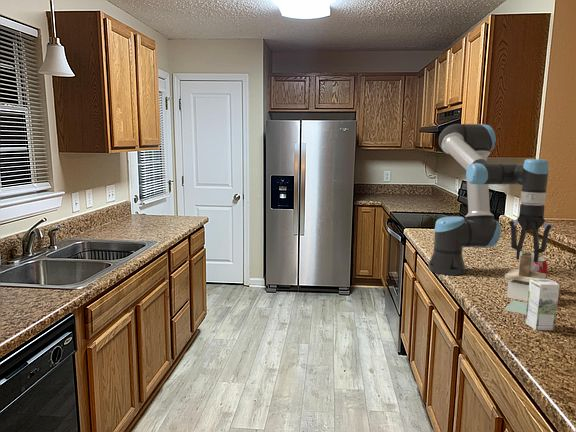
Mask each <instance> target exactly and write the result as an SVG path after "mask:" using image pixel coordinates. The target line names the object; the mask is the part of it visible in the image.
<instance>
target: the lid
mask: <svg viewBox="0 0 576 432" xmlns="http://www.w3.org/2000/svg"><path fill="white" fill-rule="evenodd" d="M531 255H532V252H531V253H530V252H524V254H523V255H521V256H520V267H519V266H518V267H519V269H518V268H511V269H510V270H508V271H507V272H506V273H504V278H505V279H509V280H511V279H514V280H519V281H525V282H530V279H545V278H546V279H547V277H546V274H544V273H538V272H533V271H530V266H531Z"/></svg>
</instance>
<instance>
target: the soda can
mask: <svg viewBox="0 0 576 432" xmlns="http://www.w3.org/2000/svg"><path fill="white" fill-rule="evenodd" d="M533 272H538V273H544V274H546V278H545V279H547V277H548V276H547V275H548V263H547V259H546V258H543V257H539V258H538V262H535V265H534V270H533Z"/></svg>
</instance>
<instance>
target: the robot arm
mask: <svg viewBox="0 0 576 432" xmlns="http://www.w3.org/2000/svg"><path fill="white" fill-rule="evenodd" d="M496 141H497V138H496V133H495V130H494V129H493V127H492V126H491V125H489V124H482V123H477V124H476V123H475V124H474V123H455V124H454V123H453V124H450V125H448V126H446V127H445V128H444V129H443V130H442V131H441V132H440V133H439V136H438V145H439V147H440V149H441V150H442V151H443V152H444V153H445V154H447V155H450V156H451V157H453V158H454V160H456V162H457V163H458V164H459V165H460V166H462V168H463V169H465V171H466V172H465V178H466V189H467V191H466V193H467V209H468V210H467V211H468V212H467V214H466V215H465V216H459V215H458V216H454V215H453V216H452V215H451V216H444V217H443V216H442V217H441V218H438V219H437V220H436V221H435V224H434V225H435V226H434V241H433V252H432V254H431V258H430V260H429V262H428V270H429V271H430V272H431V273H434V274H439V275H445V276H446V275H447V276H459V275H464V274H465V273H466V265H465V264H466V263H465V261H464V258H463V257H464V256H463V248H492V247H494V246H495V245H497V243H498V242H499V241H500V237H501V233H502V226H501V224H500V222H499V221H498V220H496V219H495V215H494V214H493V213H492V212H491V208H490V207H491V206H490V192H489V190H490V189H489V185H514V186H515V185H517V186H519V185H520V186H521V191H520V192H521V193H520V203H521V204H520V205H519V214H518V217H517V219H512V220H510V221H509V226H510V227H511V228H510V234H511V236H510V237H511V239H510V240H511V246H510V247H511V248H512V249H514V250H516V255H515V256H516V257H515V258H516V260H518V267H517V269H519V267H520V256H521V255H523V254H524V253H525V250H524V249H523V246H524V242H525V240H526V235H527V232H528V231H530V232H532V239H533V241H532V242H533V252H531V254H532V255H531V266H530V271H533V270H534V265H535V262H538V258H540V253H544V252H545V251H546V249H547V244H548V239H549V234H550V230H551V229H552V228H553V224H552V223H549V222H546V220H545V217H544V216H545V205H544V204H546V197H547V188H548V178H549V171H550V170H549V164H550V163H549V161H548V160H547V159H539V158H538V159H537V158H536V159H535V158H530V159H529V158H527V159H525V160H524V162H523V163H513V162H512V163H490V162H488V157H489V155H490V154H491V151H493V150H494V148H495V146H496ZM518 224H519V226H520V228H521V231H520V236H519V239H517V238H518V237H517V235H518V233H517V231H518V230H517V229H518V228H517V226H518ZM541 227H543V229H544V231H543V235H542V239H541V246H540V237H539V229H540V228H541ZM517 240H518V241H517Z"/></svg>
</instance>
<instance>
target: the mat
mask: <svg viewBox="0 0 576 432" xmlns="http://www.w3.org/2000/svg"><path fill="white" fill-rule="evenodd" d="M503 310H504V311H509V312H513V313H517V314H520V315H525V316H526V310H527V302H522V301H518V300H514V299H513V300H511V301H510V303H508V304H507V305H506V306H505V308H503Z"/></svg>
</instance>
